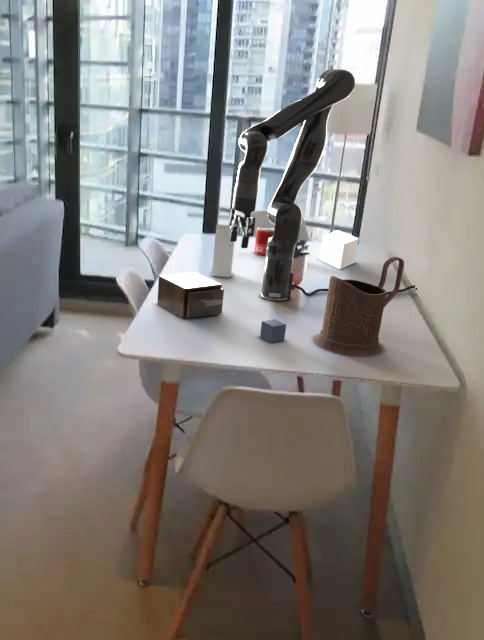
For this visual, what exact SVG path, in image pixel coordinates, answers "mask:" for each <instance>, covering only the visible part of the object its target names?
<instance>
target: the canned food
mask: <svg viewBox="0 0 484 640" xmlns="http://www.w3.org/2000/svg"><path fill="white" fill-rule="evenodd" d="M274 228H275V227H272V226H265V225H264V226H258V227H256V232H255V233H256V234H255V244H254V254H256V255H258V256H264V257H266V251H267V243H268V240H269V239H270V238H272V237H273V234H274Z"/></svg>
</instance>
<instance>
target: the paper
mask: <svg viewBox="0 0 484 640" xmlns="http://www.w3.org/2000/svg"><path fill="white" fill-rule="evenodd" d="M359 240H360V239H359V237H357V236H354V235H352V234H350V233H347V232H344V231H342V230H339V229H337V230H335V231H332V232H328V233H326V234H323V235H322V241H321V246H320V247H321V248H320V252H319V253H320V254H319V261H322V262H324V263H326V264H327V265H329V266H331V267H334V268H336V269H338V270H342V269H344V268H346V267H348V266H351V265H353V264H355V262H356V258H357V257H356V256H357V252H358V246H359Z"/></svg>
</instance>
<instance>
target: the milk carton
mask: <svg viewBox="0 0 484 640" xmlns="http://www.w3.org/2000/svg"><path fill="white" fill-rule="evenodd" d="M230 235H231V230H230V227H229V226H228V224H221V223H220V224H218V223H217V224H216V228H215V234H214V245H213V254H212V264H211V265H212V266H211V276H212V277H221V278H231V276H232V272H233V265H234V264H233V263H234V253H235V243H236V242H231V241H230Z"/></svg>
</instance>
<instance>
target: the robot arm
mask: <svg viewBox="0 0 484 640" xmlns="http://www.w3.org/2000/svg"><path fill="white" fill-rule="evenodd" d="M355 87H356V78H355V77H354V75H353V73H352V72H351V71H348V70H346V69H342V68H330V69H326V70H325V71H323V72H322V73H321V74H320V75H319V77H318V78H317V81H316V84H315V87H314V90H313V92H311V94H308V95H307V96H304V97H303V98H301V99H299V100H296V101H294V102H292V103H290V104H287V105H286V106H285V107H284V106H283V108H281V109H280V110H278V111H277V112H275V113H274V114H273V115H271V116H270V117H268V118H267V119H265V120H263V121H261V122H259V123H257V124H254V125H252V126H251V127H249V128H248V129H246V130H245V131H243V132H242V133H241V135H240V137H239V138H238V146H239V149H240V150H241V151H243V152H244V153H245V155H244V158H243V159H244V160H243V161H241V162H240V163H239V165H238V170H237V176H236V182H235V185H234V191H233V199H232V207H231V209H230V212H229V217H228V222H227V223H228V224H227V225H228V226H229V227H230V230H231V235H230V241H231V242H235V243H236V242H237V240H238V233H239V231H238V230H240V231H241V243H240V248H241V249H248V247H249V241H250V238H251V237H254V234H255V227H256V217H252V216H251V215H252V213H253V212H256V208H257V200H258V193H259V182H260V177H261V169H262V166H263V164H264V161H265V158H266V157H267V152H268V148H269V142H270V141H271V140H278V139H280V138H282V137H283V136H285V135H286V134H288V133H289V132H291V131H292V130H293V129H295V128H296V127H298V126H299V125H300V124H303V125H302V127H301V129H300V132H299V135H298V137H297V139H296V142H295V143H294V147H293V150H292V152H291V155H290V158H289V160H288V163H287V166H286V169H285V171H284V173H283V177H282V178H281V181H280V184H279V186H278V188H277V190H276V192H275V194H274V196H273V198H272V199H271V202H270V204H269V205H268V209H267V220H268V222H269V223H270V224H271V225H273V226H274V227H273V228H274V234H273V237H272V238H270V239H269V240H268V243H267V251H266V256H265V261H264V268H263V269H264V270H263V277H262V286H261V293H260V297H261V298H262V299H264V300H267V301H272V302H285V301H290V300H291V298H292V291H294V290H295V289H297V290H299V291H301V292H302V294H303V295H305V296H308V297H309V296H310V297H311V296H313V295H314V294H317V293H319V292H328V289H329V288H317V289H314V290H313V291H311V292H306V290H305V289H304V288H303V287H301V286H300V285H297V284H295V282H293V281H294V271H293V263H294V255H295V251H296V250H295V249H296V245H297V243H298V241H299V239H300V232H301V228H302V221H303V213H302V208H301V207H300V205H299V204H297V203H296V201H297V198H298V195H299V193H300V190H301V189H302V186H303V185H304V184H305V182H307V180H308V179H309V178H310V177H311V176H312V174H313V173H314V172H315V170H316V169H317V168H318V165H319V163H320V161H321V158H322V156H323V153H324V151H325V148H326V144H327V135H328V121H329V116H330V113H331V111H332V108H333V106H334V105H336V104H339V103H340V102H342V101H344V100H346V99H348V98H349V97H350V96H351V94H352V93H353V92H354V89H355ZM415 286H416V285H414V284H413V285H409V286H407V287H404V288H402V289H400V288H399V291H398V293H399V294H400V293H404V292H406V291H409V290H411V289H415V290H416V291H418V290H417V288H415ZM392 291H393V290H391V291H387V294H386V295H389V294H390V293H391V292H392ZM398 293H397V294H398Z"/></svg>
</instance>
